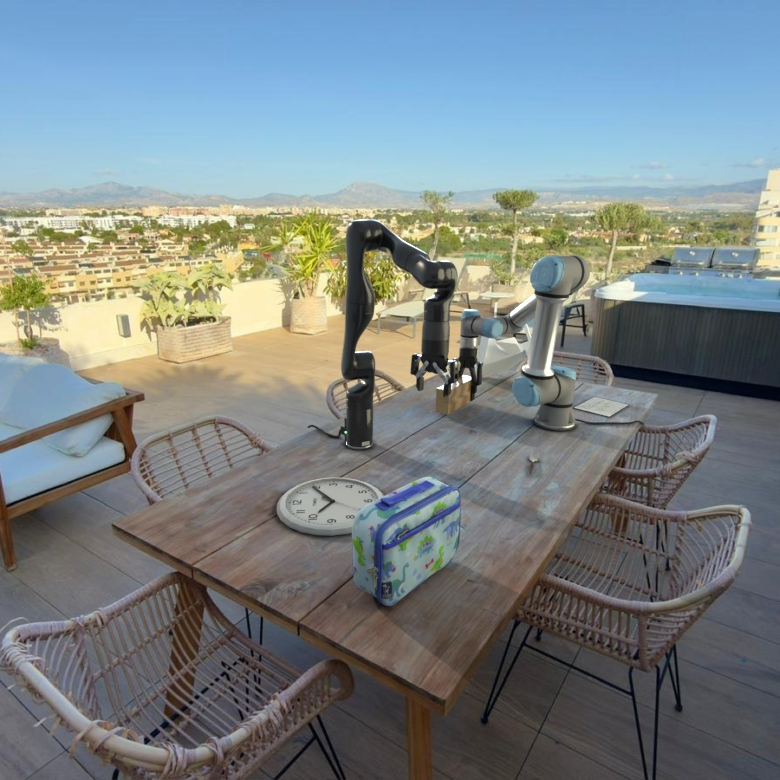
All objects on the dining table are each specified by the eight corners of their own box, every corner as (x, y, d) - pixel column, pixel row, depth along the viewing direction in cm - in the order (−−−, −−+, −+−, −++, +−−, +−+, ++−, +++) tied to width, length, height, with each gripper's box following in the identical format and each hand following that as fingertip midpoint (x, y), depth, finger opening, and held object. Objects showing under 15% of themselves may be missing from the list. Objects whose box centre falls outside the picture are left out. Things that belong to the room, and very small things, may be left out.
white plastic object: (487, 418, 267) (468, 395, 242) (469, 346, 289) (449, 318, 264) (558, 394, 255) (545, 368, 230) (533, 321, 277) (518, 289, 252)
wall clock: (392, 527, 129) (268, 531, 127) (391, 533, 130) (269, 537, 127) (383, 473, 158) (282, 475, 155) (383, 478, 158) (282, 480, 156)
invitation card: (608, 416, 214) (573, 407, 224) (608, 416, 214) (573, 408, 224) (628, 404, 229) (594, 396, 238) (628, 405, 229) (594, 397, 238)
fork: (525, 475, 162) (525, 469, 161) (530, 455, 176) (531, 449, 176) (534, 476, 161) (534, 470, 161) (538, 456, 175) (539, 450, 175)
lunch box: (381, 619, 101) (382, 525, 95) (345, 592, 109) (344, 503, 102) (464, 563, 119) (469, 480, 113) (428, 543, 126) (432, 464, 120)
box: (462, 396, 231) (463, 374, 228) (474, 399, 228) (475, 377, 225) (435, 411, 212) (436, 388, 209) (447, 414, 209) (449, 390, 206)
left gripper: (406, 335, 143) (404, 391, 148) (451, 342, 135) (448, 401, 140) (421, 331, 149) (419, 385, 154) (465, 338, 141) (462, 395, 146)
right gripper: (444, 345, 222) (442, 396, 229) (485, 351, 212) (481, 405, 219) (452, 342, 228) (450, 392, 235) (493, 347, 218) (489, 400, 225)
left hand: (433, 393), depth 147 cm, fingers open, 8 cm apart
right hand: (465, 398), depth 227 cm, fingers closed on box, 6 cm apart
